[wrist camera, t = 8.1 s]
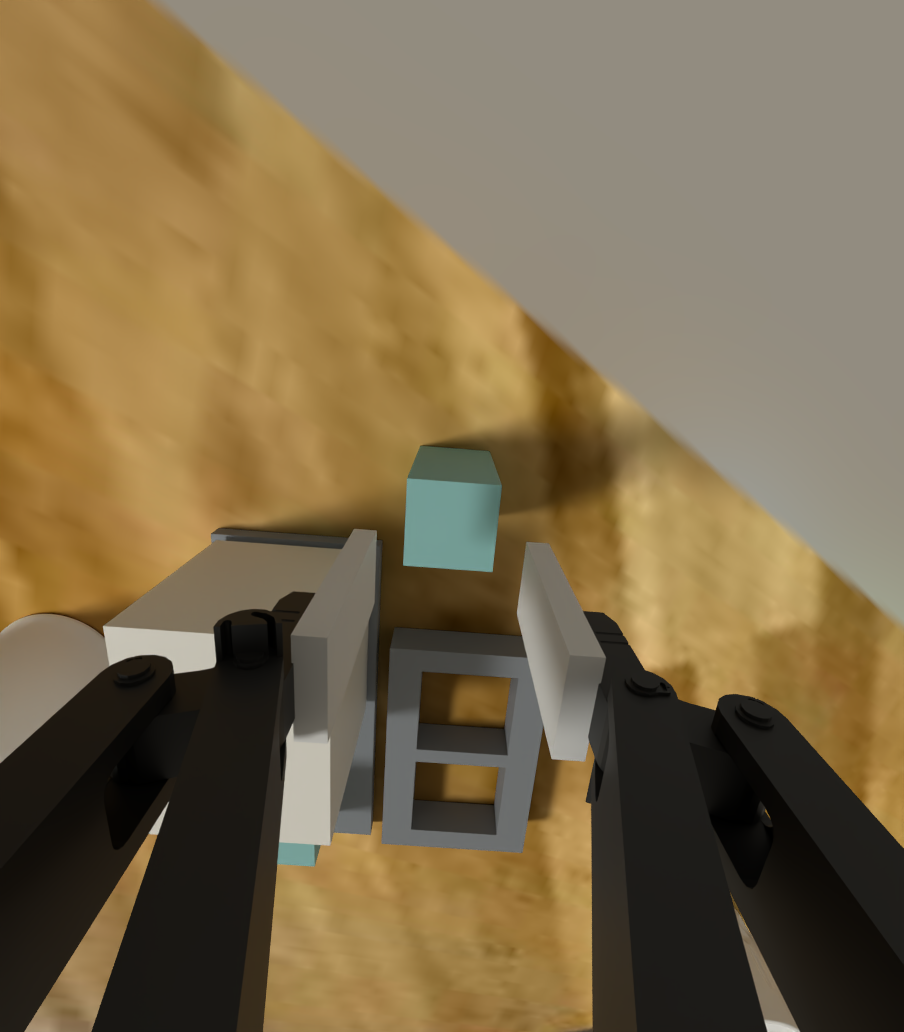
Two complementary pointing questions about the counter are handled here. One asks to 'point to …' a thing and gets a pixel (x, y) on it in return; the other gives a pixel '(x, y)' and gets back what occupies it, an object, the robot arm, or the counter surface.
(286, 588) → the cover
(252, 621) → the robot arm
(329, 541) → the board
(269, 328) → the counter surface
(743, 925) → the white cup
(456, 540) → the peg
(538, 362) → the counter surface
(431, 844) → the socket board
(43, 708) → the mug
